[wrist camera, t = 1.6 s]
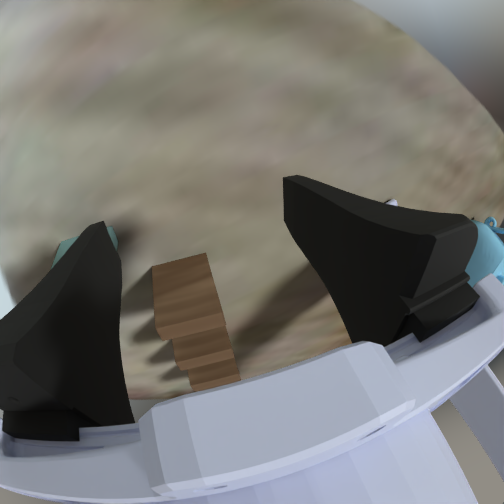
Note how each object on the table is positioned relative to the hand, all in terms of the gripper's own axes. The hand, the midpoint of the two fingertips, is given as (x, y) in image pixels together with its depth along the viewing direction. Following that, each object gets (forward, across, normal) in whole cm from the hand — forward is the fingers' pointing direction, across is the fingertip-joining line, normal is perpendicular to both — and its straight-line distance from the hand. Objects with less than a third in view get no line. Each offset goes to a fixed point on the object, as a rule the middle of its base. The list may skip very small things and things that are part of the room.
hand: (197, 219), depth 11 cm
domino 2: (+10, +2, +16) cm, 19 cm away
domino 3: (+10, +2, +21) cm, 23 cm away
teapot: (+11, -41, +22) cm, 48 cm away
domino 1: (+10, +2, +11) cm, 15 cm away
